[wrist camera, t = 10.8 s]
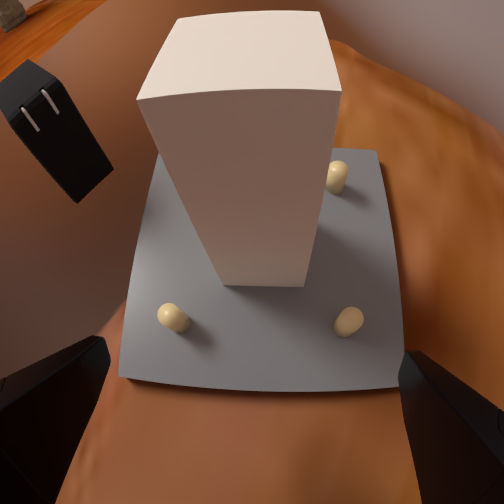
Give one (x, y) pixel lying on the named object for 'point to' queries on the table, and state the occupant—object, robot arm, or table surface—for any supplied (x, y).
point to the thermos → (11, 14)
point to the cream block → (247, 136)
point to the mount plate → (270, 299)
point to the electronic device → (53, 129)
